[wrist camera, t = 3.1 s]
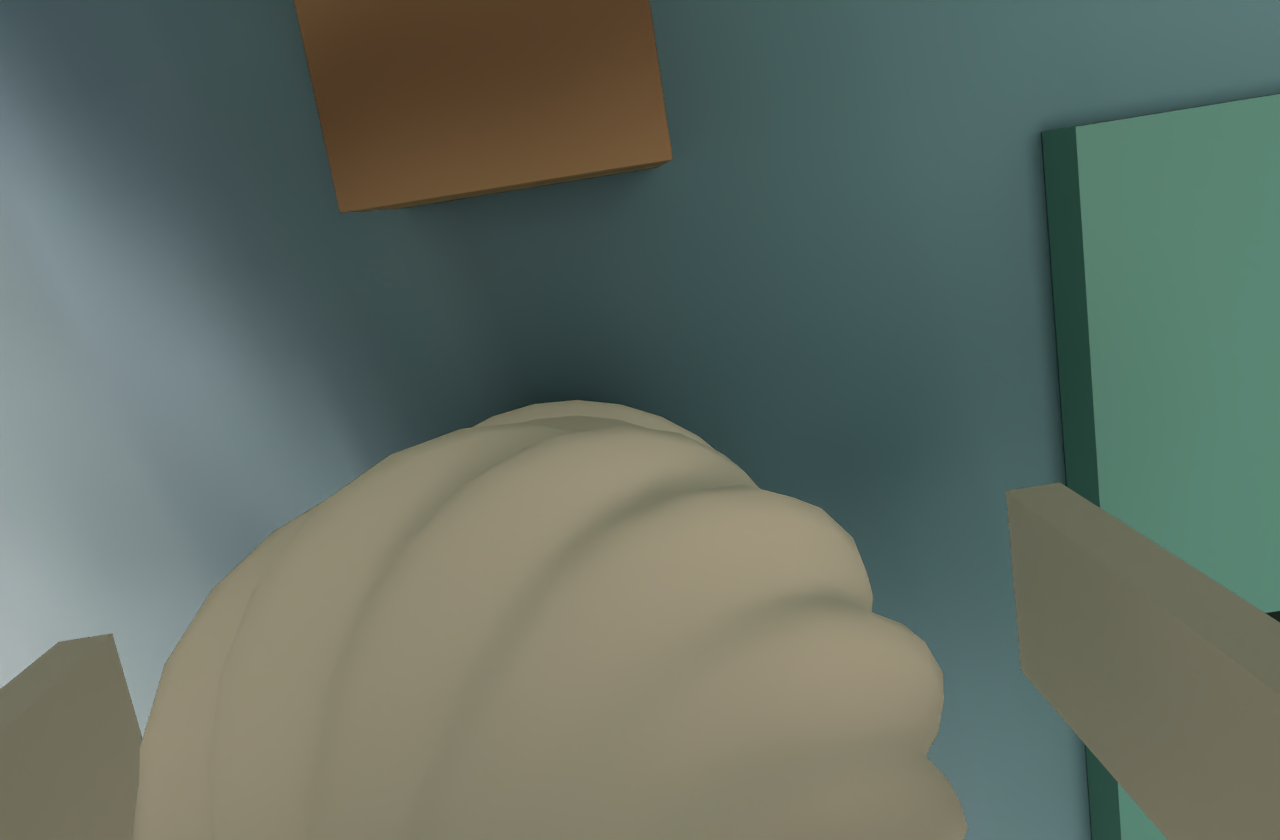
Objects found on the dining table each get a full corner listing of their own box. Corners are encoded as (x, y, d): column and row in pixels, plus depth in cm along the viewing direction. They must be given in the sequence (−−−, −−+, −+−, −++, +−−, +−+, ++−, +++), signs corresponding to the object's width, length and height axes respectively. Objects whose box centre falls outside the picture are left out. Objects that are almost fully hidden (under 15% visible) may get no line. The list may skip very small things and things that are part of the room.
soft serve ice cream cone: (355, 652, 22) (-265, 1762, 6) (417, 265, 20) (-214, 494, 5) (737, 719, 23) (1021, 1889, 7) (828, 349, 21) (1470, 801, 5)
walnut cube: (348, -65, 19) (260, -152, 14) (615, -108, 19) (618, -211, 14) (404, 207, 20) (340, 213, 15) (656, 167, 20) (673, 159, 15)
